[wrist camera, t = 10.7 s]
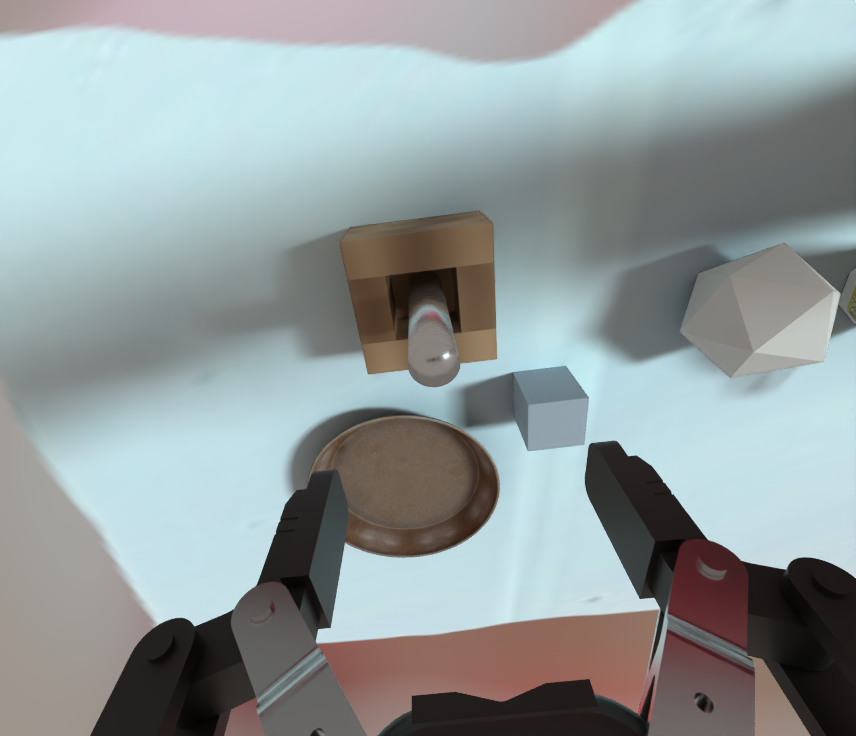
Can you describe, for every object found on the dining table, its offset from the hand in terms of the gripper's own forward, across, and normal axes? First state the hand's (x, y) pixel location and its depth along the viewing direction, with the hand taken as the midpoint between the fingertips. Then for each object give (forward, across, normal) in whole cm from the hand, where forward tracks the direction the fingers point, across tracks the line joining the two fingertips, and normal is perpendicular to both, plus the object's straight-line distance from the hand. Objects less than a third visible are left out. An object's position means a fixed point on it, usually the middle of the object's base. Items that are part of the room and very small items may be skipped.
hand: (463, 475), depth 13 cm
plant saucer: (+20, +5, +18) cm, 28 cm away
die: (+20, -22, +3) cm, 30 cm away
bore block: (+20, +1, 0) cm, 20 cm away
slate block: (+20, -8, +10) cm, 24 cm away
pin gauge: (+19, +1, 0) cm, 19 cm away
